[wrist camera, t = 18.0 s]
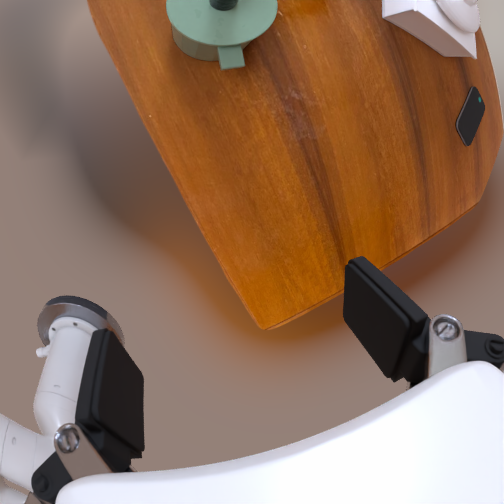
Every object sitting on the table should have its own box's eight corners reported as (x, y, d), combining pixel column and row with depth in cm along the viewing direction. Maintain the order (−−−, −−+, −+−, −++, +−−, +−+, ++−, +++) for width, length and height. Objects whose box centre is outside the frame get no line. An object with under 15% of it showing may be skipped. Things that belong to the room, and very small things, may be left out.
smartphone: (486, 107, 38) (468, 149, 42) (483, 106, 39) (466, 148, 43) (475, 83, 35) (457, 125, 39) (472, 83, 35) (454, 125, 39)
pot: (182, 86, 28) (182, 75, 21) (165, -9, 21) (163, -39, 13) (261, 73, 30) (284, 61, 22) (242, -19, 22) (258, -47, 15)
